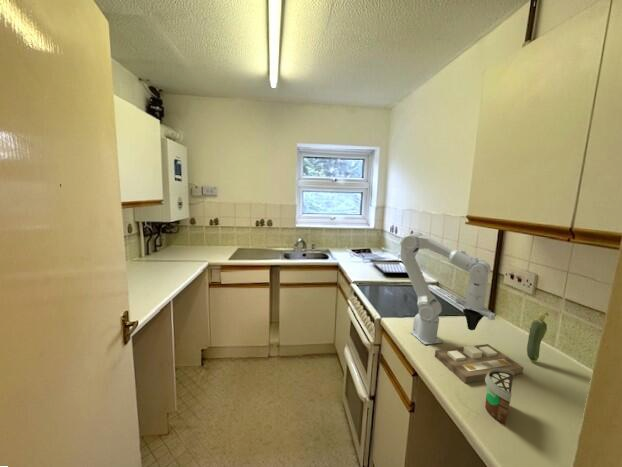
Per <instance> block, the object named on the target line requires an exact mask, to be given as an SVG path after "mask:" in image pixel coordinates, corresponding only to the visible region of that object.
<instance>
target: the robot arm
mask: <svg viewBox="0 0 622 467" xmlns="http://www.w3.org/2000/svg"><path fill="white" fill-rule="evenodd" d="M399 244H400V260H401V262H402V264H403V267H404V269H405V271H406V273H407V275H408V278H409V280H410V283H411V285H412V288H413V289H414V292H415V294H416V296H417V304H416V305H417V307H418V313H417V314H416V315H415V316H414V318H413V321H412V322H413V323H412V331H411V330H410V334H412V335H413V336H414V337H415V338H416V339H417V340H418V341H420V342H421V343H422V344H423V345H433V344H441V343H442V341H441V340H440V339H439V338H438V337H437V336H438V331H439V325H440V324H439V323H440V317H439V315H440V314H441V313H442V311H443V307H442V304H441V303H440V301H438V300H437V298H436V296H435V294H432V293H431V290H430V288H429V286H428V284H427V282H426V279H425V277H424V275H423V273H422V270H421V268H420V266H419V262H418V261H417V259H416V256H417V254H418V251H419V250H420V249H421V250H422V249H423V250H424V249H426V250H427V249H428V250H431V251H433V252H434V253H437V254H440V255H441V256H443V257H446V258H447V259H448V260H449V263H450V264H451V265H453V266H456V267H457V268H459V269H461V270H463V271H464V272H466V273H468V274H469V280H468V286H467V294H466V298H465V299H464V298H462V297H456V300H455V304H458V305H461V306H464V309H462V313H463V314H464V317H465V320H466V324H467V329H468V330H470V331H475V330H476V328H477V326H478V324H479V322H480V321H481V320H482V319H483V318H484V317H486V318H487V319H488V320H490V321H493V320H496V313H494V312H492V311H491V310H489V308H487V307H486V306H485V304H486V297H487V290H488V284H489V283H488V282H489V274H490V273H491V269H492V268H491V265H490V264H489V262H487V261H486V260H484V259H479V257H475V256H472V255H470V254H468V253H466V251H465V250H464V249H462V250H460V249H454V250H453V249H452V248H449V247H448V246H446V245H444V244H442V243H440V242H439V241H437V240H435V239H433V237H430V236H428V235H426V234H423V233H421V232H417V231H416V232H414V233H409V234H406V235H404V236H403V237H402V239H401V241H400V243H399Z"/></svg>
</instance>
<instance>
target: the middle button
mask: <svg viewBox="0 0 622 467" xmlns="http://www.w3.org/2000/svg"><path fill="white" fill-rule="evenodd" d="M474 346H475V345H467V346H466V345H465V346H463V347H464V351H463V352H464V353H465V354H466V355H468V356H469V357H470V358H472V359H477V358H481V357H482V352H481V351H480V350H479V349H477V348H476V347H474Z"/></svg>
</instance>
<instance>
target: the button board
mask: <svg viewBox="0 0 622 467" xmlns="http://www.w3.org/2000/svg"><path fill="white" fill-rule="evenodd" d="M473 346H474V347H476V348H477V349H479V347H487V346H488V347H489V348H491V349H492V350H494V351H495V352H497V356H491V357H488V356H486V355H485V354H483V353H482V357H481V358H477V359H472V358H470V357H469V356H468V355H466V354H465V353H464V352H463V351H464V347H465V346H461V347H454V348H453V347H452V348H445V349H437V350H434V351H435V352H434V357H435V358H436V359H437V360H438V361H439V362H440V361H441V362H442V363H441V362H440V363H441V364H442V365H443V366H444V367H446V368H447V369H448V370H449V371H450V372H452V373H453V374H454V375H455V376H456V377H457V378H458V379H459V380H461V381H462V382H463V383H464V384H470V383H475V382H476V383H477V382H481V381H485V378H486V376H487V374H488V372H489V371H490V370H492V369H505V370H509V371H512V372H514V376H517V375H523V372H524V370H525V369H524V368H525V367H523V366H522V365H521V364H520V363H518V362H516V361H514V360H513V359H512V358H510V357H508V356H507V355H506V354H503V352H501V351H499V350H498V349H496V348H495V347H493V346H491V344H488V343H485V344H478V345H477V344H476V345H473ZM456 350H457V351H458V352H460V353H461V354H462V355H464V356H465V357H466V359H465V360H462V361H455V360H454V359H452V358H451V357H450V356H449V355H447V353H448V351H456Z"/></svg>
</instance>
